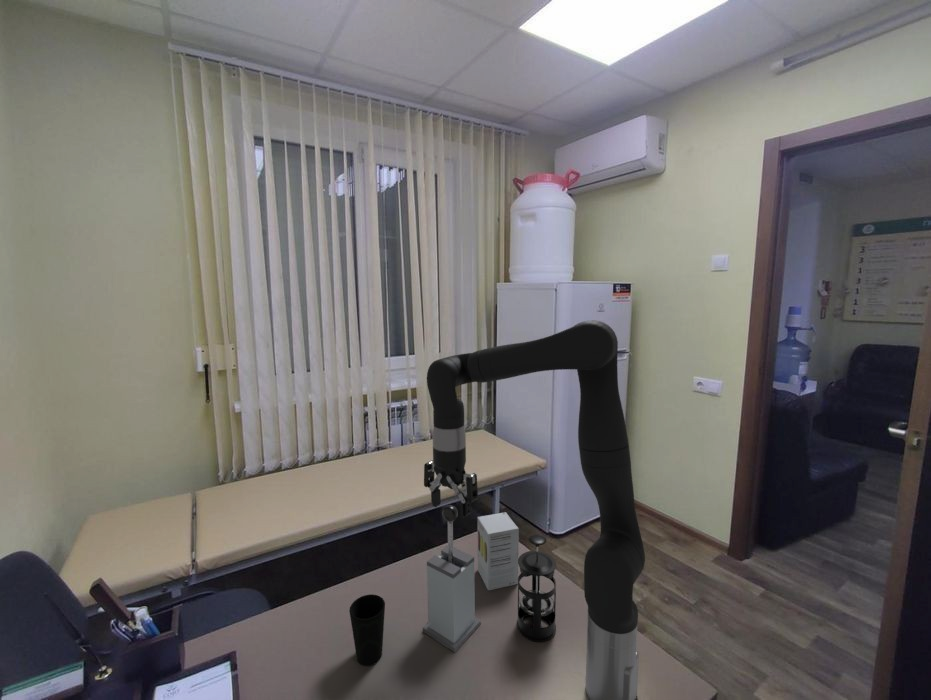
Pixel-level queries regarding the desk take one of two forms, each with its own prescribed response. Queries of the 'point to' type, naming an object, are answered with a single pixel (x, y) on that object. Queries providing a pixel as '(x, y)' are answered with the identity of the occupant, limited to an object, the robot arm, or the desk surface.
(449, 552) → the plunger
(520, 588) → the french press
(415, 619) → the desk surface
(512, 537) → the supplement box
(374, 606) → the cup
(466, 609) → the slotted square pillar
